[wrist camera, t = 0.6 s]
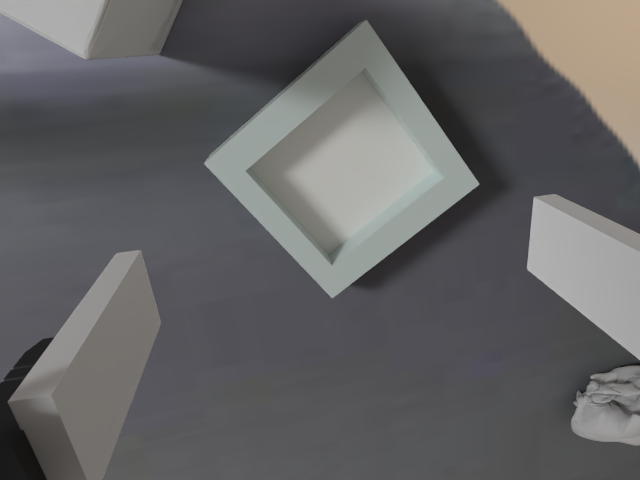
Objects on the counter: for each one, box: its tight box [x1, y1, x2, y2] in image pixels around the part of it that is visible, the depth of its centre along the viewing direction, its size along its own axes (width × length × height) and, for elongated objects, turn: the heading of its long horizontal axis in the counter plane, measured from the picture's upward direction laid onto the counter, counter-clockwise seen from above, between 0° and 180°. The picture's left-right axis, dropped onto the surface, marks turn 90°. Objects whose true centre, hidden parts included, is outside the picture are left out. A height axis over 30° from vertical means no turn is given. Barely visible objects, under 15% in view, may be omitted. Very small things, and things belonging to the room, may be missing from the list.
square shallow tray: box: [204, 20, 479, 298], centre depth 38 cm, size 16×16×4 cm
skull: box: [571, 366, 640, 445], centre depth 49 cm, size 8×9×12 cm
